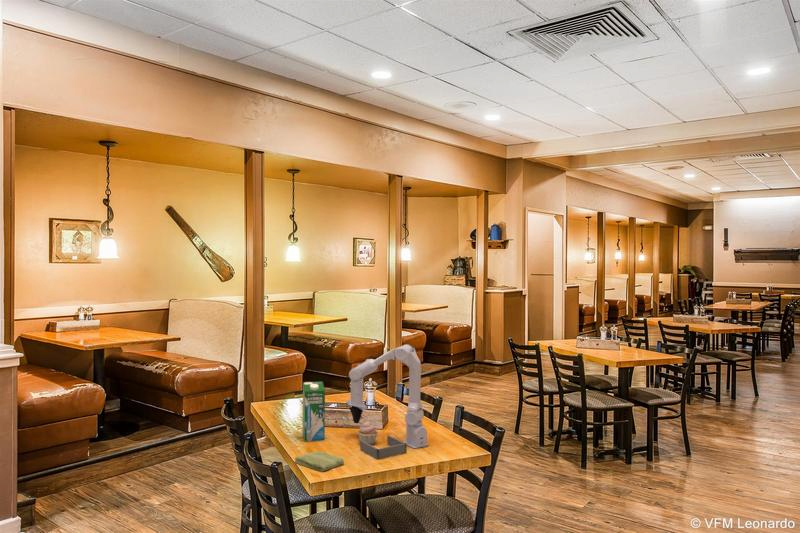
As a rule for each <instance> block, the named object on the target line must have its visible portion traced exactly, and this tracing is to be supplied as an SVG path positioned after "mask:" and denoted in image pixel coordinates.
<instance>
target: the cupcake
mask: <svg viewBox="0 0 800 533" xmlns="http://www.w3.org/2000/svg"><path fill="white" fill-rule="evenodd" d="M377 430H378V429H377V428H376V427H375V425H374V424H372V423H371V422H370V421H369V420H368V421H365V422H364V423H363V424H362V425H361V426H360V428H359V431H358V432H357V436H358V437H359V442H360V441H364V442H366V443H368V444H370V445H372V446H374V444H375V443H376V440H377V439H376V438H377V436H378V434H379V432H378V431H377Z"/></svg>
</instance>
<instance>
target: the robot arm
mask: <svg viewBox="0 0 800 533" xmlns="http://www.w3.org/2000/svg"><path fill="white" fill-rule="evenodd" d="M389 360H394V361H395V360H397V361H399V362H400V363H403V364H405V365H406V366H407V368H408V369H409V371H408V372H409V373H408V405H407V408H406V414H405V416H404V420H405V423H406V424H405V425H406V427H405V428H406V430H405V432H406V434H405V441H404V440H403V442H404V443H406V444H407V446H408V447H410V448H412V449H419V448H424V447H428V446H429V443H428V432H427V428H425V427H424V425H423V421H422V420H423V418H424V416H425V411H424V409H423V404H422V403H421V390H422V389H421V384H422V382H421V380H422V378H421V377H422V376H421V375H422V363H421V360H420V358H419V357H418V355H417V352H416V349H415V347H413V346H411V345H410V344H403V345H402V346H398V347H395V348H393V349H391V350H389V351H387V352H385V353H384V354H382V355H380V356H379V357H377V358H376V359H374V358H373V359H372V358H370V359H369V358H367V359H365V361H364V362H363V363H361V364H357V366H356V367H353V368H352V369H350V371H349V373H348V378H349V379H350V399H347V400H346V403H347V405H348V406H349V411H350V412H351V416H352V421H353V423H354V424H359V423H360V421H361V417H362V414H363V412H364V411H367V410H368V409H367V406H368V405H366V404H365V403H364V378H365V377H366V376H368V375H370V374H372V373H374V372H375V371H377V370H378V367H379V366H380V365H382V364H383V363H386V362H387V361H389Z"/></svg>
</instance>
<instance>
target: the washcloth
mask: <svg viewBox="0 0 800 533" xmlns="http://www.w3.org/2000/svg"><path fill="white" fill-rule="evenodd" d="M294 460H295V464H296V465H299V466H303V467H306V468H309V469H311V470H315V471H318V472H322V473H323V472H326V471H328V470H332V469H333V468H337V467H340V466H343V465H344V464H345V460H344V458H343V457H342V456H339V455H338V456H337V455H334V454H331V453H326V452H323V451H319V450H317V451H313V452H307V453H304V454H302V455H301V456H300V455H298V456H295V457H294Z"/></svg>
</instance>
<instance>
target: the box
mask: <svg viewBox="0 0 800 533" xmlns="http://www.w3.org/2000/svg"><path fill="white" fill-rule="evenodd" d="M386 438H387V440H386V443H387V444H386V445H387V446H384V447H381V448H377V447H375V446H374V445H370V444H368V443H366V442H364V441H360V440H359V442H360V445H359V446H360V451H362V452H363V453H365V454H366V455H368V454H369V456H370V457H371V458H374V459H376V460H380V459H381V458H382V459H386V458H390V456H391V457H394V456H400V455H403V453H404V454H407V446H408V445H407V444H406V443H404V441H402V440H400V439H398V438H396V437H394V436H391V435H389V434H388V435H387V436H386ZM399 454H400V455H399ZM385 457H386V458H385Z"/></svg>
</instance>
